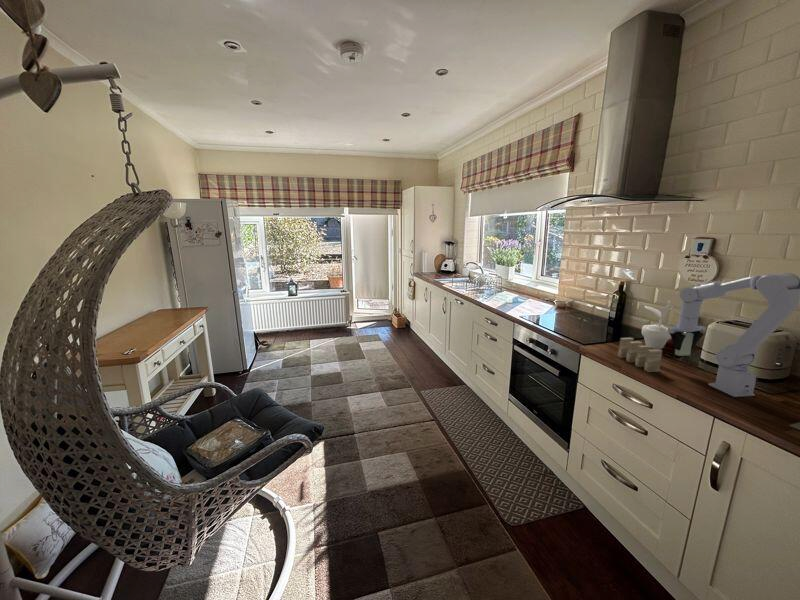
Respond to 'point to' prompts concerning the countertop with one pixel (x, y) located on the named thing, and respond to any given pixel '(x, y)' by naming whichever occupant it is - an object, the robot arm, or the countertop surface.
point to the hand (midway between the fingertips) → (683, 349)
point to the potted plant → (657, 329)
